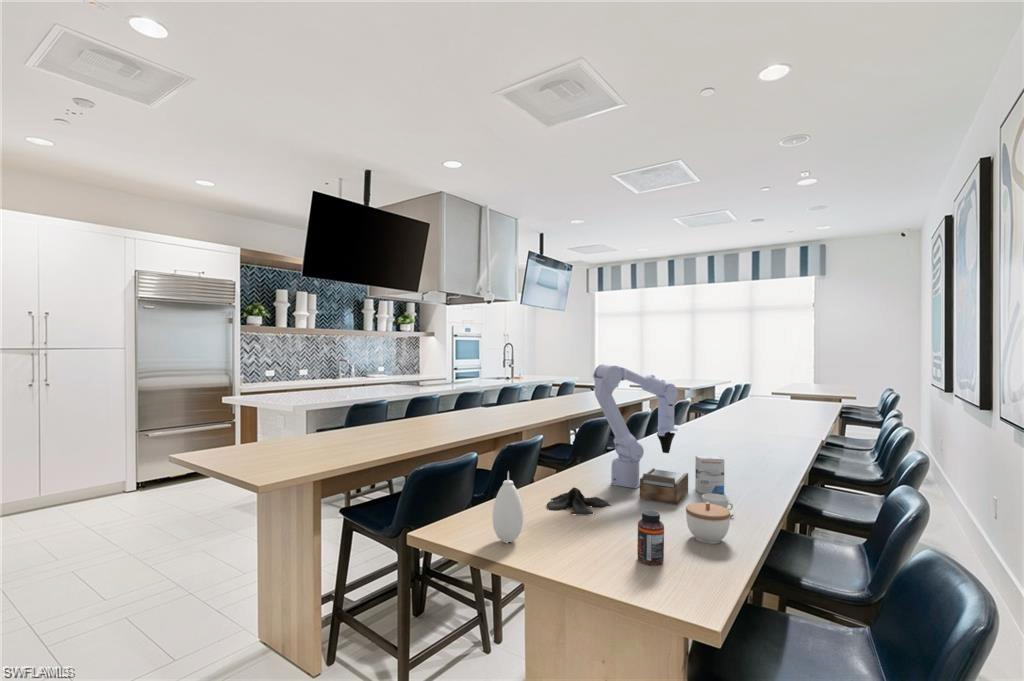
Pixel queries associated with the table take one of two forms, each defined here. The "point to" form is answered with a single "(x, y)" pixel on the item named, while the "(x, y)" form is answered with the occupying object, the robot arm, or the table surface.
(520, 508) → the air blower bulb
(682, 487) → the walnut box
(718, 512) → the lidded jar
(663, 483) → the lid
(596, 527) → the table surface
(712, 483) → the ink box
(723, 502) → the teacup
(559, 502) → the cloth
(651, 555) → the supplement bottle
